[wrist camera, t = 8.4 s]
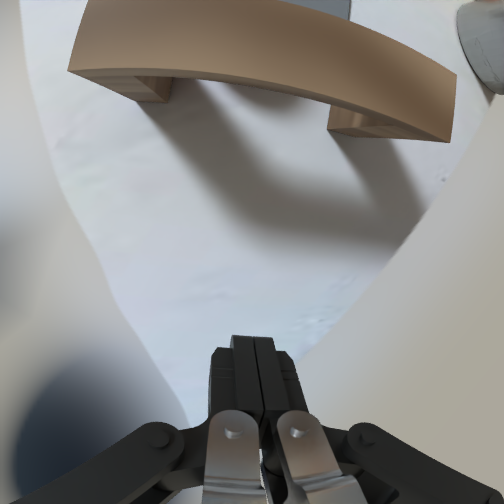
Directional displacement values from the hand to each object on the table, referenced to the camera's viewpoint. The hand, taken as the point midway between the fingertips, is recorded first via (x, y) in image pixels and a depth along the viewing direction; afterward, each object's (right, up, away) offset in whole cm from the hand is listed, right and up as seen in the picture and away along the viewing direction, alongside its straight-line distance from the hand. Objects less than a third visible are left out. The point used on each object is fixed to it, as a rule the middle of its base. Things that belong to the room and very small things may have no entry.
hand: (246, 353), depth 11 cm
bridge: (0, +13, +4) cm, 14 cm away
